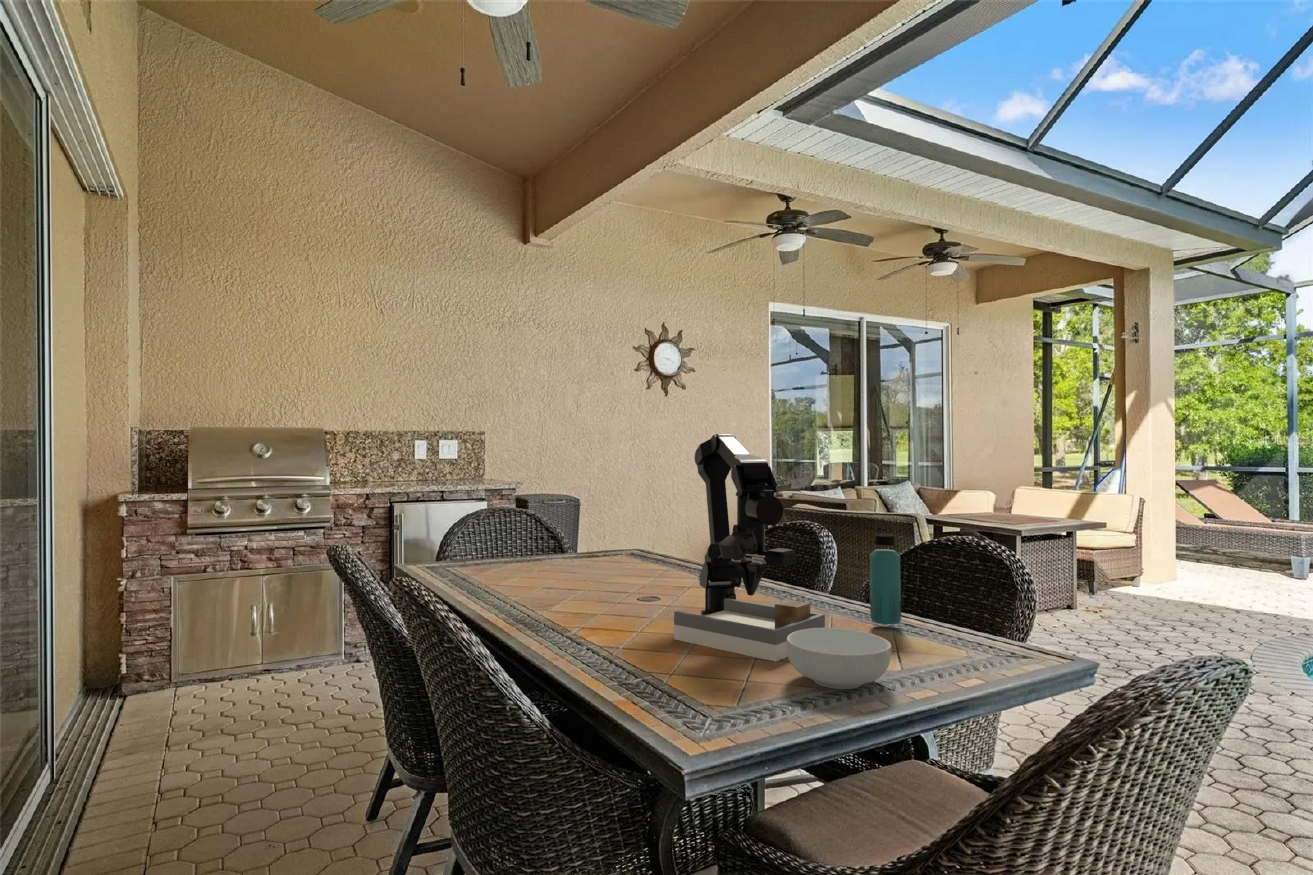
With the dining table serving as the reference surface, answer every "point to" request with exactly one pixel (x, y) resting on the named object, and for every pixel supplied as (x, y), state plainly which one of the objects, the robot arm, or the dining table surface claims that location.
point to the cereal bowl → (838, 656)
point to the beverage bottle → (885, 583)
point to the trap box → (742, 629)
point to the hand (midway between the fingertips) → (750, 595)
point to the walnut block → (790, 612)
